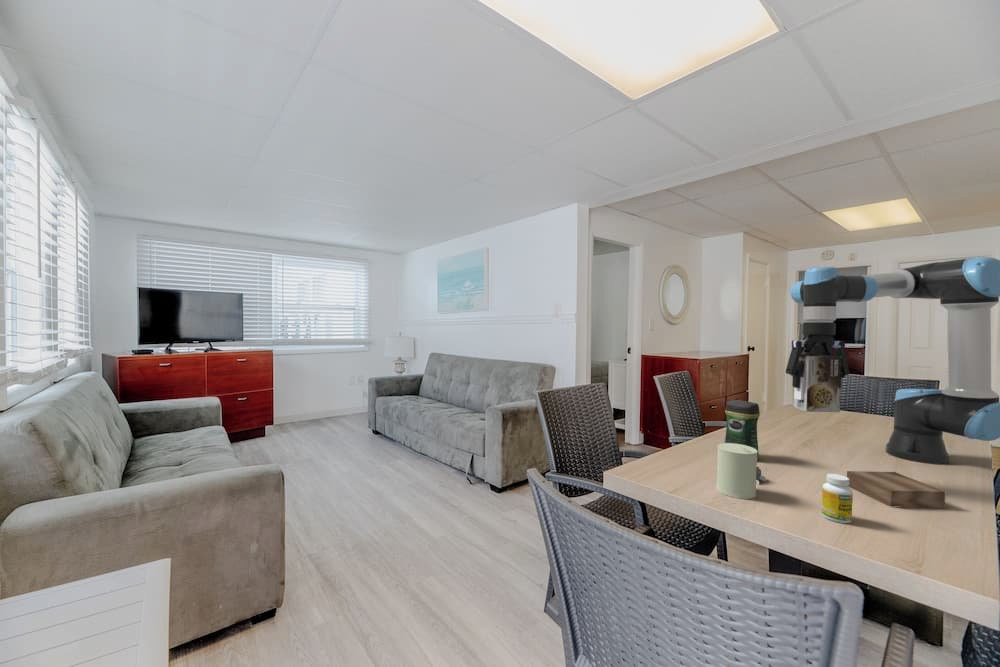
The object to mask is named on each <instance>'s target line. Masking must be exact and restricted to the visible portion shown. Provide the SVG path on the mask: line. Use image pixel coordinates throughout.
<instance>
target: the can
mask: <svg viewBox="0 0 1000 667" xmlns="http://www.w3.org/2000/svg"><path fill="white" fill-rule="evenodd" d="M757 453H759V450H758V451H757V450H756V449H754V448H752V447H749V446H746V445H741V444H734V443H725V442H724V443H723V442H722V443H718V444H717V465H716V466H717V467H716V468H717V469H716V485H715V489H716V490H717V491H718V492H719V493H721V494H722V495H725V496H728V497H729V498H736V499H740V500H742V499H743V500H751V499H755V498H756V497H757V484H756V469H757V467H758V466H757V465H758V464H757V463H758V458H757Z"/></svg>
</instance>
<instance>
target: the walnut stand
mask: <svg viewBox="0 0 1000 667" xmlns="http://www.w3.org/2000/svg"><path fill="white" fill-rule="evenodd" d="M846 477H847V478H849V485H848V487H849V488H851V489H852V490H855V491H856V492H859V493H861V494H864V495H865V496H867V497H870V498H871V499H874V500H876V501H878V502H879V503H882V504H884V503H885V504H884V505H886V504H887V505H886V506H888V505H889V506H888V507H890V506H901V507H900V508H925V507H927V508H928V507H930V508H929V509H931V508H932V509H934V508H935V509H936V508H937V509H940V508H941V509H942V508H943V509H945V504H946V491H945V490H943V489H940V488H937V487H934V486H932V485H929V484H926V483H924V482H922V481H919V480H916V479H913V478H911V477H908V476H906V475H904V474H901V473H898V472H896V471H868V470H867V471H866V470H865V471H864V470H861V471H859V470H857V471H856V470H855V471H854V470H851V471H850V470H847V471H846Z"/></svg>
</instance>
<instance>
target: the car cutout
mask: <svg viewBox="0 0 1000 667" xmlns="http://www.w3.org/2000/svg"><path fill="white" fill-rule="evenodd" d="M759 480H760V481H764V482H766V481H767V478H766V477H765V475H762V470H761V469H760V467H759V466H757V469H756V486H759V485H760V481H759Z"/></svg>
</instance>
